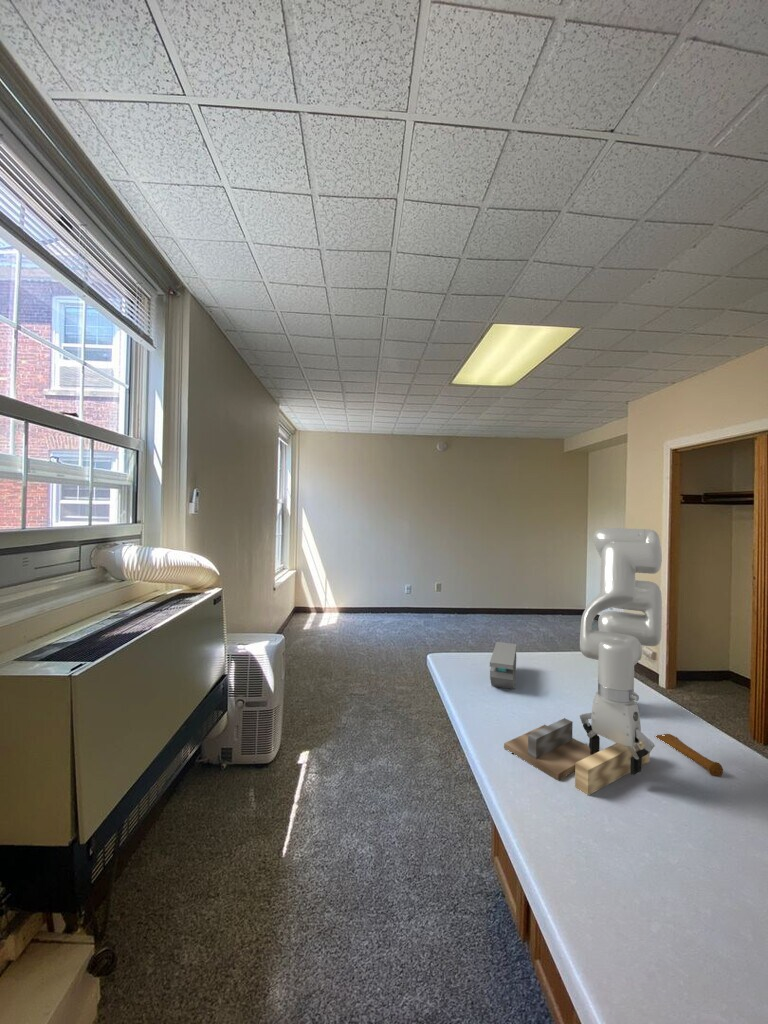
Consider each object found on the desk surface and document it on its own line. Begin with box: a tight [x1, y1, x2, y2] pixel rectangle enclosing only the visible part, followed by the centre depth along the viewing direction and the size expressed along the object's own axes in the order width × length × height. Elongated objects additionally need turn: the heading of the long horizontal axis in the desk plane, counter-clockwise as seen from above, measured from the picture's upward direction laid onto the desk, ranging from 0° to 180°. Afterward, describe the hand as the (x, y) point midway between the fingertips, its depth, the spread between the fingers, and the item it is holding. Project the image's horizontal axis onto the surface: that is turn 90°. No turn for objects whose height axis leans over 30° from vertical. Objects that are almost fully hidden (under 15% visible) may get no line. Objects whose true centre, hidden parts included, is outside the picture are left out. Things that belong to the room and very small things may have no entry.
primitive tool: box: [655, 733, 724, 777], centre depth 112 cm, size 19×6×4 cm, turn 6°
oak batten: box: [574, 738, 651, 796], centre depth 103 cm, size 26×3×6 cm, turn 121°
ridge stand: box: [503, 717, 591, 781], centre depth 112 cm, size 18×16×6 cm
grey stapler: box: [489, 641, 517, 690], centre depth 158 cm, size 25×8×11 cm, turn 160°
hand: (614, 762), depth 103 cm, fingers open, 9 cm apart
